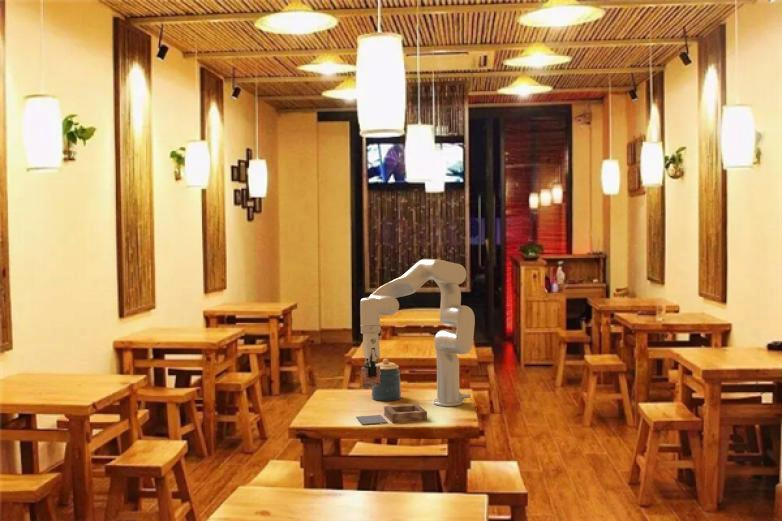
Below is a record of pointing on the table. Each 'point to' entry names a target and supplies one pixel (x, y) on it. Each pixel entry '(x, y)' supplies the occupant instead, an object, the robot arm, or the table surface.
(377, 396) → the canister
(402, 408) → the frame
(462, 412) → the table surface
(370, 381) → the lighter
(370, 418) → the charcoal mat
